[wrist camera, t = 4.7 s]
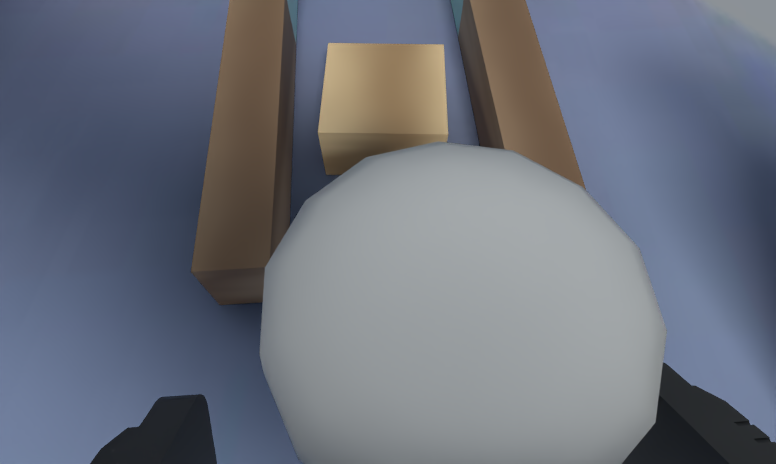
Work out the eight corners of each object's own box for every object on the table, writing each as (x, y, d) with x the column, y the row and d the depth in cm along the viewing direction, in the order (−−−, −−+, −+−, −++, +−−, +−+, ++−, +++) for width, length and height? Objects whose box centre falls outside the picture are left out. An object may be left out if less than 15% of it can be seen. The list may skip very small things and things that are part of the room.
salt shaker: (285, 457, 16) (1, 342, 4) (388, 318, 18) (386, -4, 6) (438, 587, 14) (660, 981, 3) (531, 415, 16) (867, 213, 5)
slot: (219, 305, 18) (190, 271, 15) (247, 47, 25) (230, -6, 22) (573, 282, 18) (603, 246, 16) (505, 34, 25) (519, -20, 23)
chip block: (326, 177, 21) (317, 132, 19) (334, 93, 24) (328, 42, 21) (440, 179, 21) (448, 134, 19) (437, 95, 24) (443, 44, 21)
